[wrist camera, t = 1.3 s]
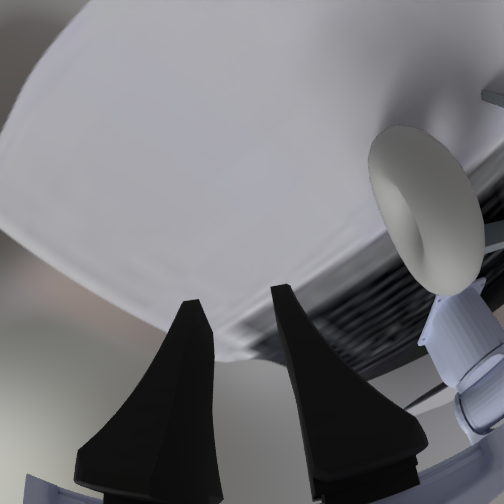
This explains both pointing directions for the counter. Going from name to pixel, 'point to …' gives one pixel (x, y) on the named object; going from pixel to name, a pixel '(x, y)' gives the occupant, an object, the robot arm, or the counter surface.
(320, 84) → the counter surface
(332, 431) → the robot arm
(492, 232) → the bracket
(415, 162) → the donut
